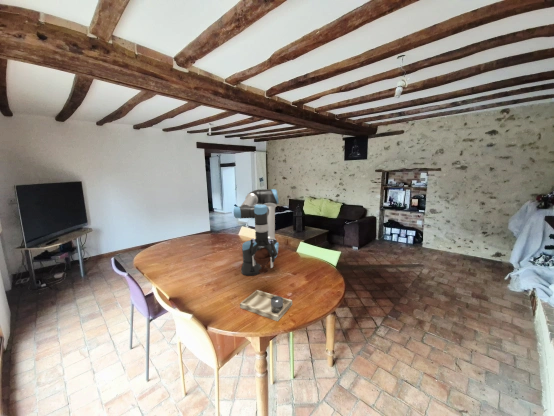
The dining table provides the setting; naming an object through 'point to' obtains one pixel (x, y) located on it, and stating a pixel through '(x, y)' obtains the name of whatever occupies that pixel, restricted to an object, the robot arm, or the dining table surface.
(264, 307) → the cream rectangular tray
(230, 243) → the dining table surface
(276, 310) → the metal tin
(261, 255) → the ice cream bowl
